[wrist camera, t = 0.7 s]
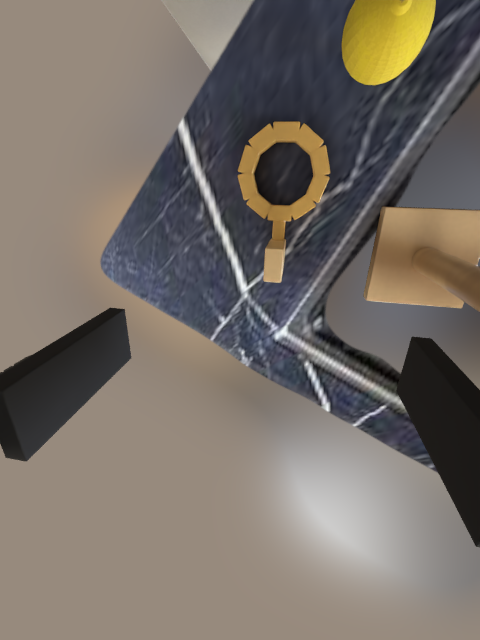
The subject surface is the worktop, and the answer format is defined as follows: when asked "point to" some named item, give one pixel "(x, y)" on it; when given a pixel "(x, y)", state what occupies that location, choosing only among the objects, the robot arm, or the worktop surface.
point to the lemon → (384, 37)
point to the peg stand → (426, 257)
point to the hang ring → (282, 212)
